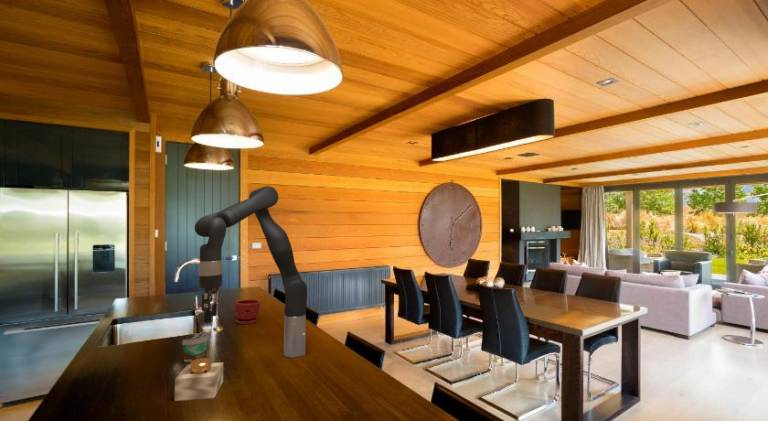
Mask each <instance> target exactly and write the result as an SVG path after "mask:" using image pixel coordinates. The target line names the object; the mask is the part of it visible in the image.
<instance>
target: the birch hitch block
mask: <svg viewBox="0 0 768 421" xmlns="http://www.w3.org/2000/svg"><path fill="white" fill-rule="evenodd" d="M223 382H224V362H211V370H210V371H208V372H207V373H202V374H192V373H190V364H186V366H185V367H184V368H183V369H182V370H181V372H179V374H178V375H177V376H176V378H175V379H174V402H178V401H180V402H181V401H193V400H205V399H206V400H207V399H215V397H216V396H217V394H218V392H219V390H220V388H221V386H222V385H223Z"/></svg>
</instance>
